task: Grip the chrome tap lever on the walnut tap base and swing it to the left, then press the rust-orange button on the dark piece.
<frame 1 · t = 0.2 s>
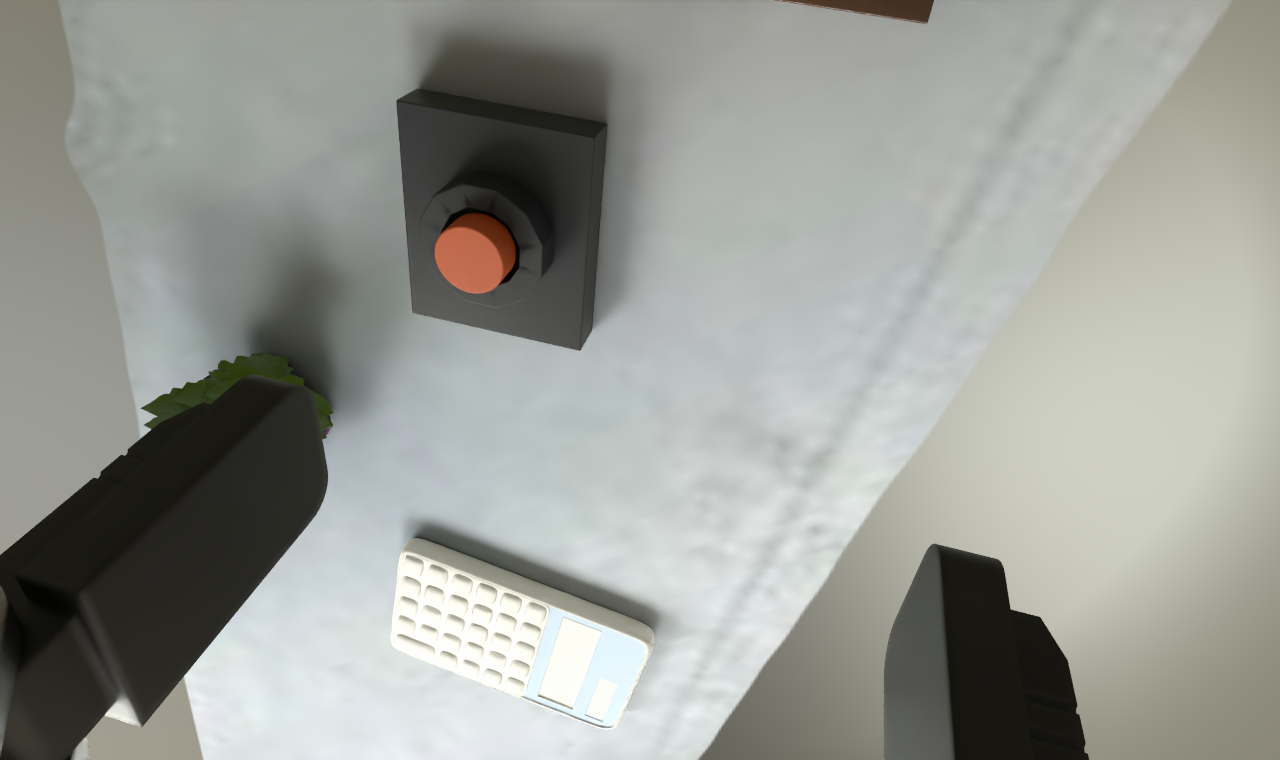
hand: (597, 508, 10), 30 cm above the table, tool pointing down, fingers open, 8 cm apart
dark piece: (510, 217, 43), on the table
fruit: (291, 399, 56), on the table
calculator: (520, 627, 64), on the table
button: (475, 253, 40), point 5 cm above the table, slide at 0.2 cm
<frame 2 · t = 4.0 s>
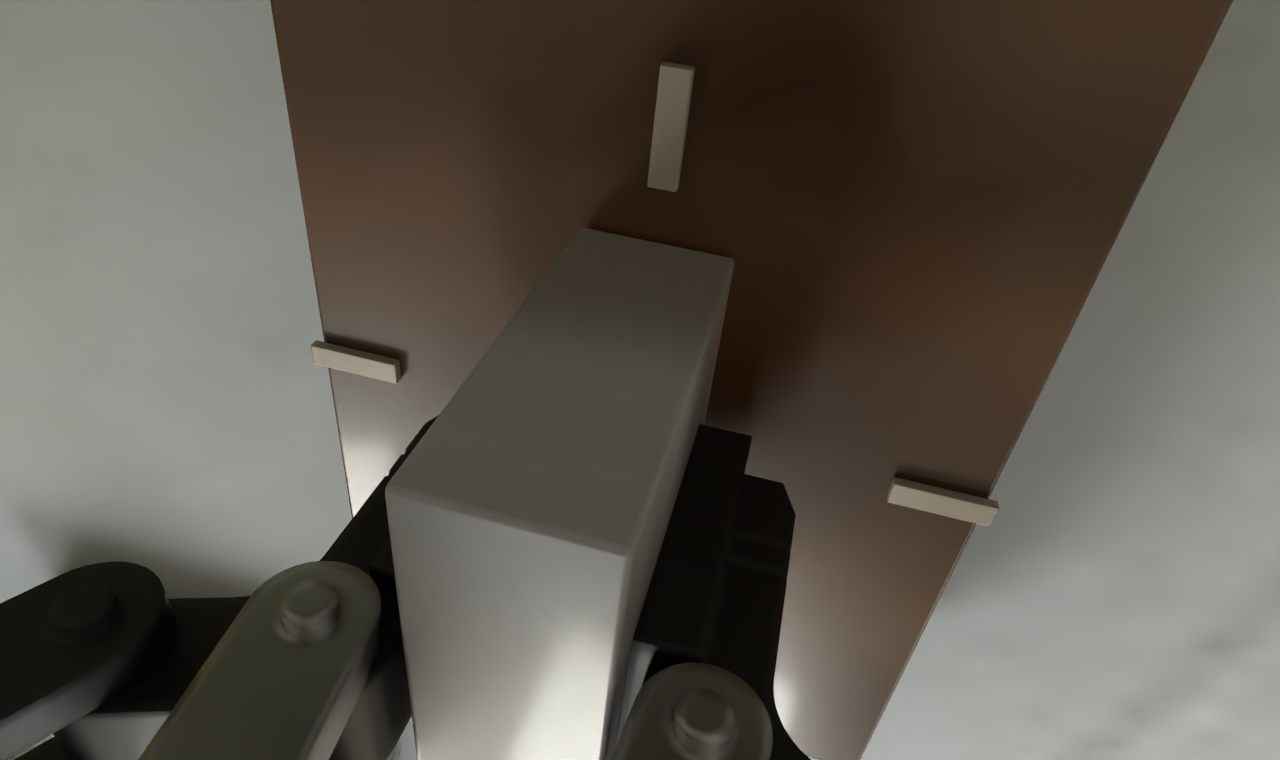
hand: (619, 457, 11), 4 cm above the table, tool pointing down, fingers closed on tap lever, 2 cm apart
tap lever: (579, 558, 10), point 6 cm above the table, hinge at 0.0°, touching gripper
tap base: (677, 322, 14), on the table
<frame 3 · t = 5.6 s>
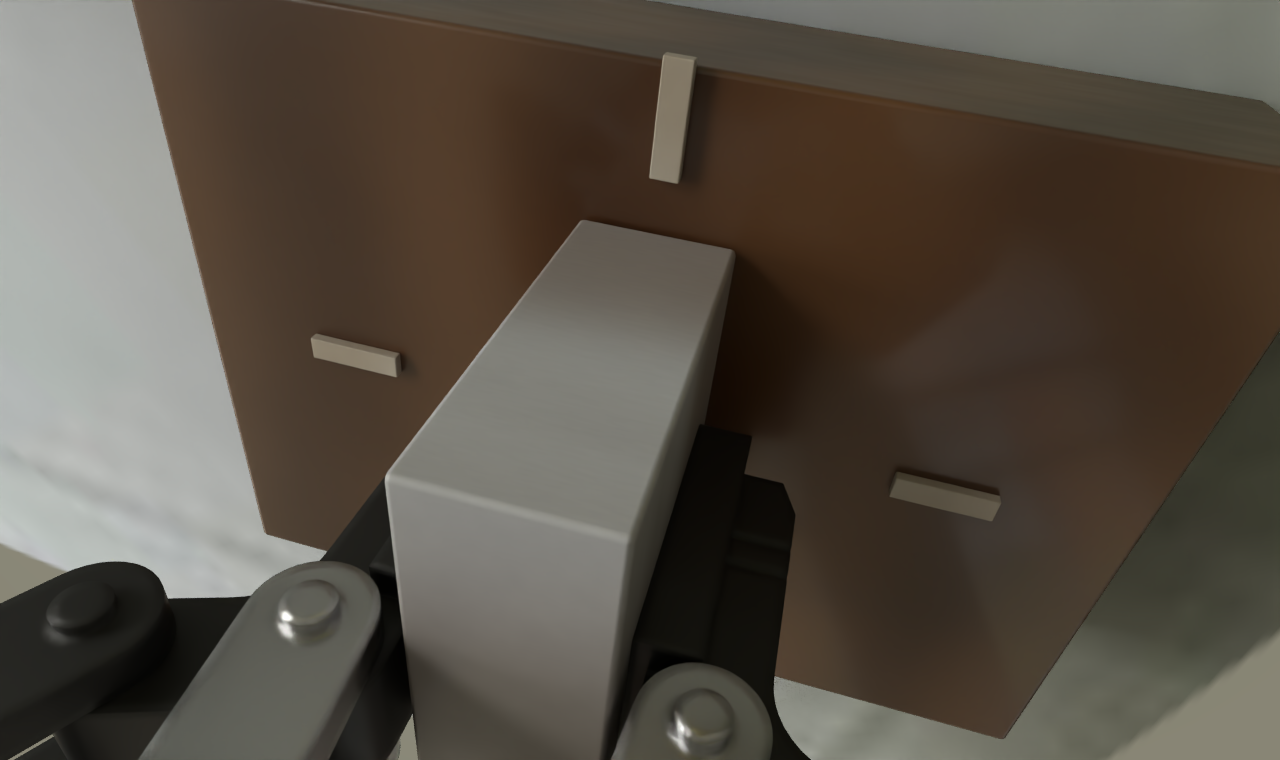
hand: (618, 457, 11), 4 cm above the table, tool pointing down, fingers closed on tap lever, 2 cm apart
tap lever: (580, 551, 10), point 6 cm above the table, hinge at 90.2°, touching gripper
tap base: (678, 317, 14), on the table
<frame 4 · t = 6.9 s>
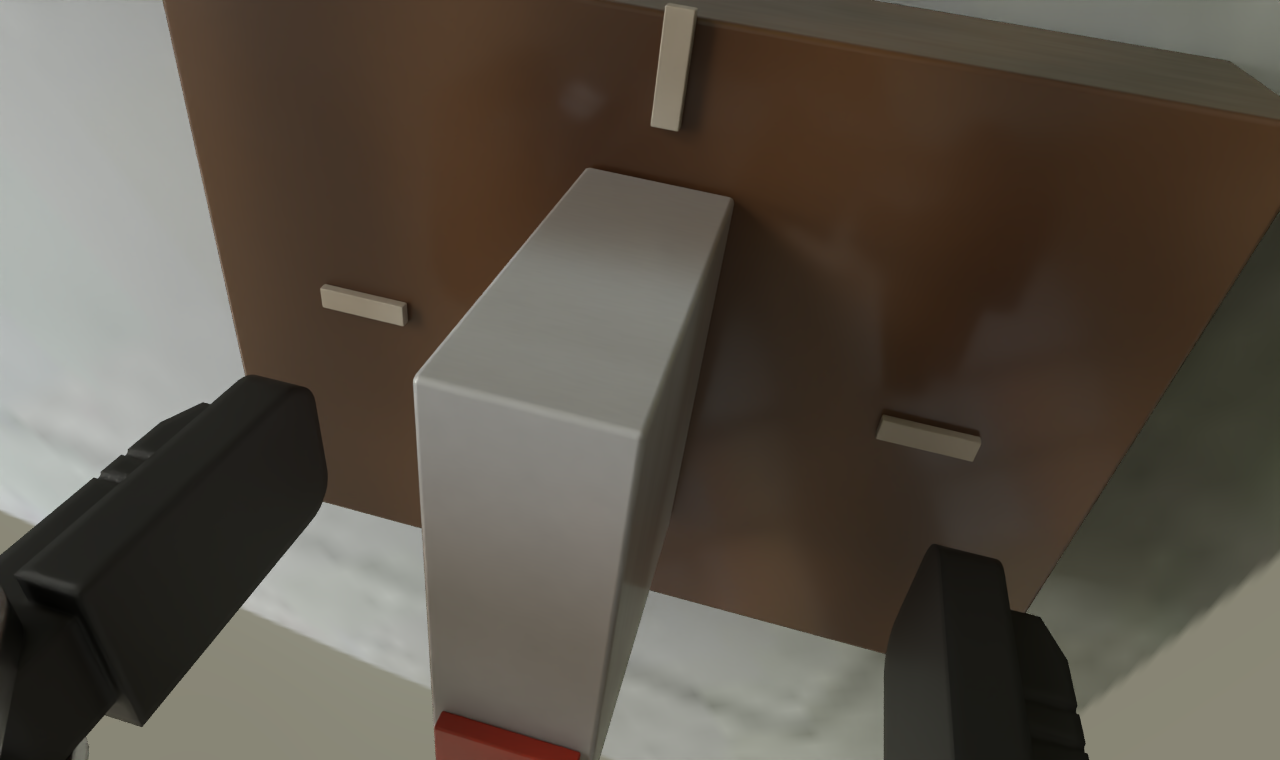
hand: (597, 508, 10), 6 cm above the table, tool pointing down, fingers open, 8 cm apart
tap lever: (583, 481, 10), point 6 cm above the table, hinge at 89.7°
tap base: (674, 275, 15), on the table
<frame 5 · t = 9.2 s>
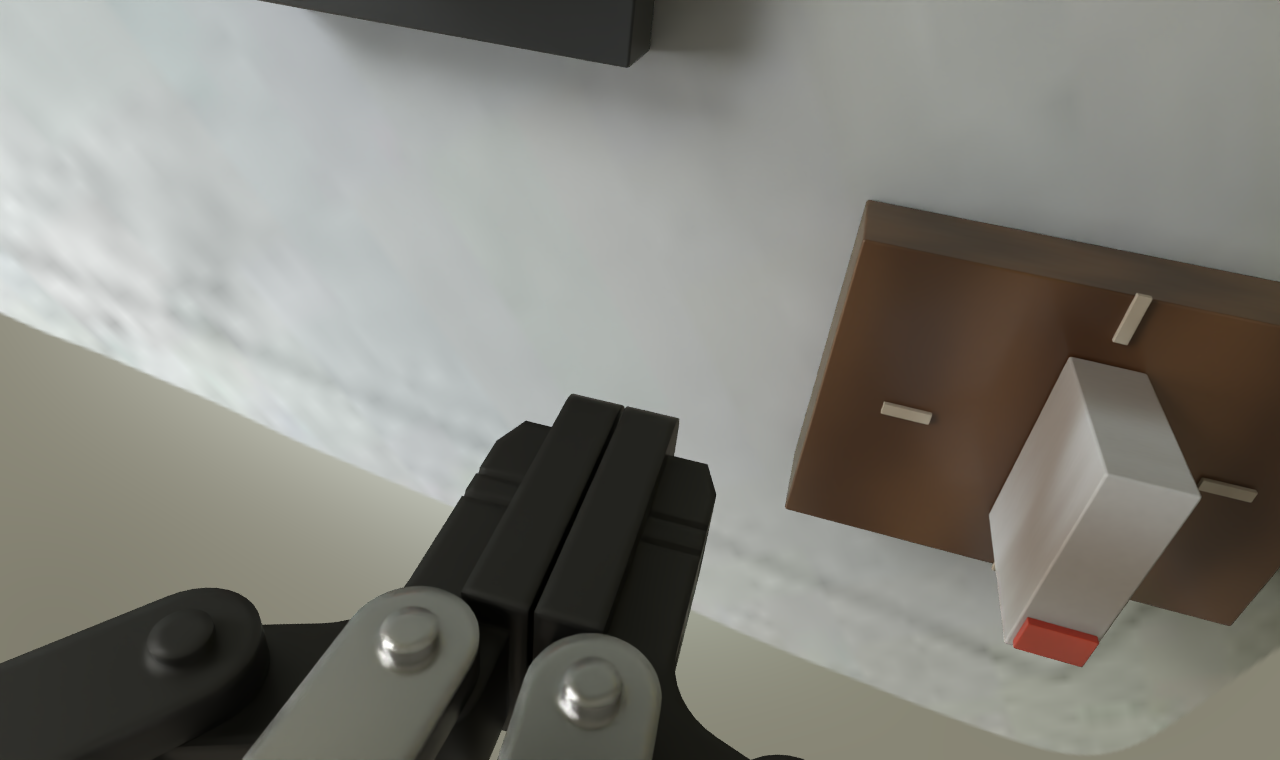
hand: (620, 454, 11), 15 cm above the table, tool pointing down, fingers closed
tap lever: (1076, 510, 21), point 6 cm above the table, hinge at 89.7°
tap base: (1046, 391, 26), on the table
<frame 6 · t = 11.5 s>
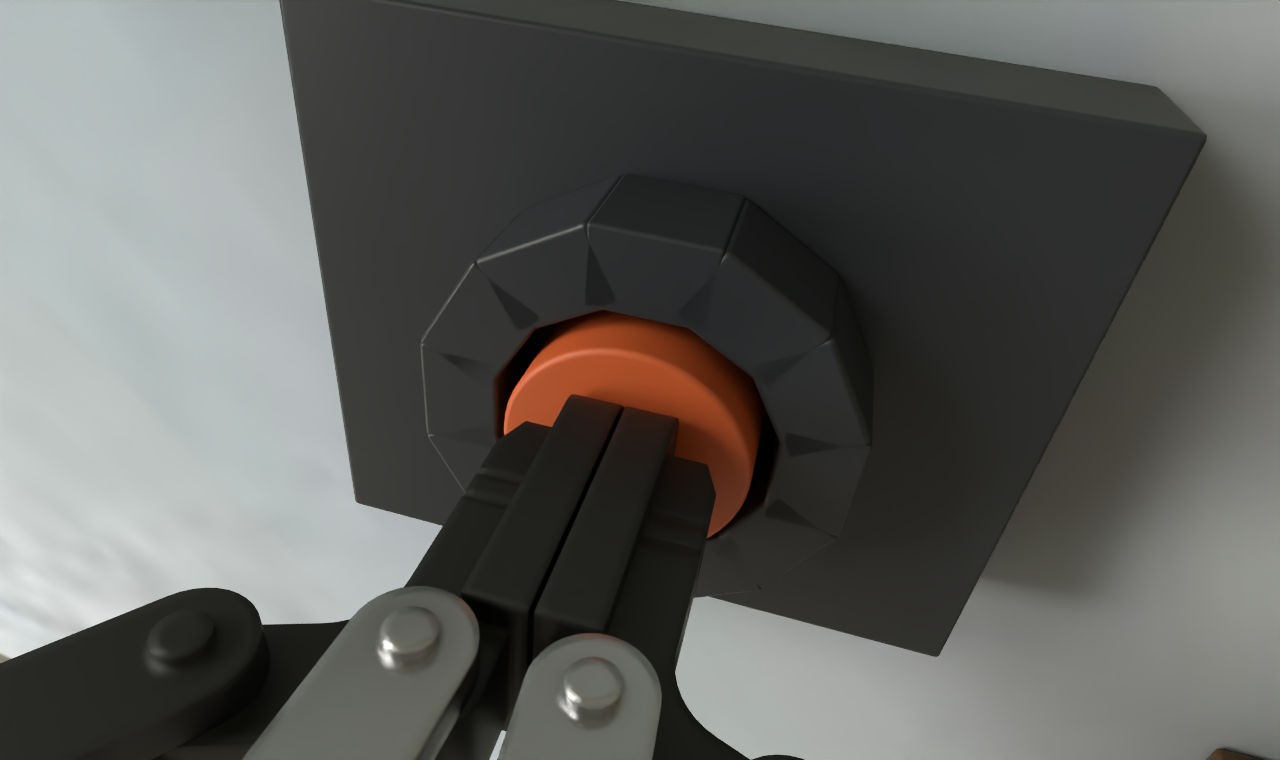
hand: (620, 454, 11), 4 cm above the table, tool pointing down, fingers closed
dark piece: (685, 308, 15), on the table
button: (637, 423, 12), point 4 cm above the table, slide at -0.8 cm, touching gripper
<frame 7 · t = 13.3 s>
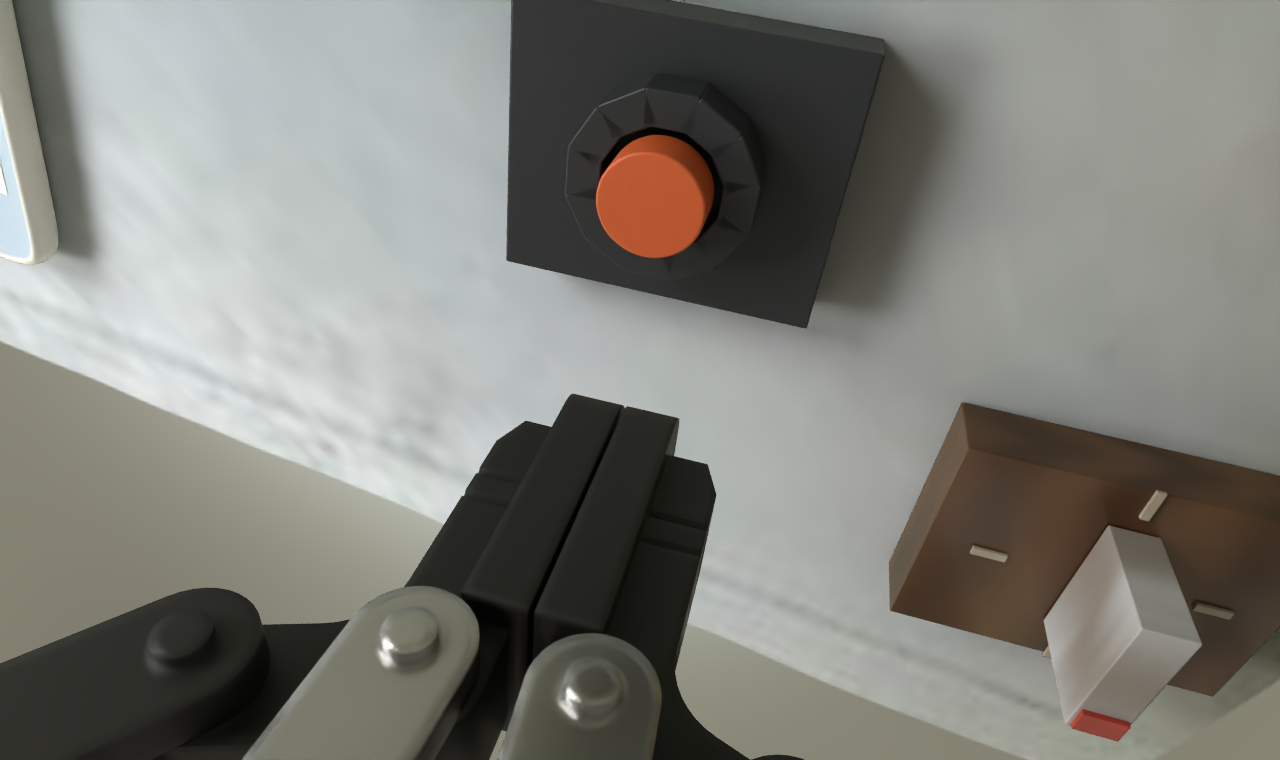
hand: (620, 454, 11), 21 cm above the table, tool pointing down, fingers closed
dark piece: (682, 150, 30), on the table
tap lever: (1113, 633, 31), point 6 cm above the table, hinge at 89.7°
tap base: (1083, 528, 35), on the table
button: (655, 197, 26), point 5 cm above the table, slide at 0.2 cm
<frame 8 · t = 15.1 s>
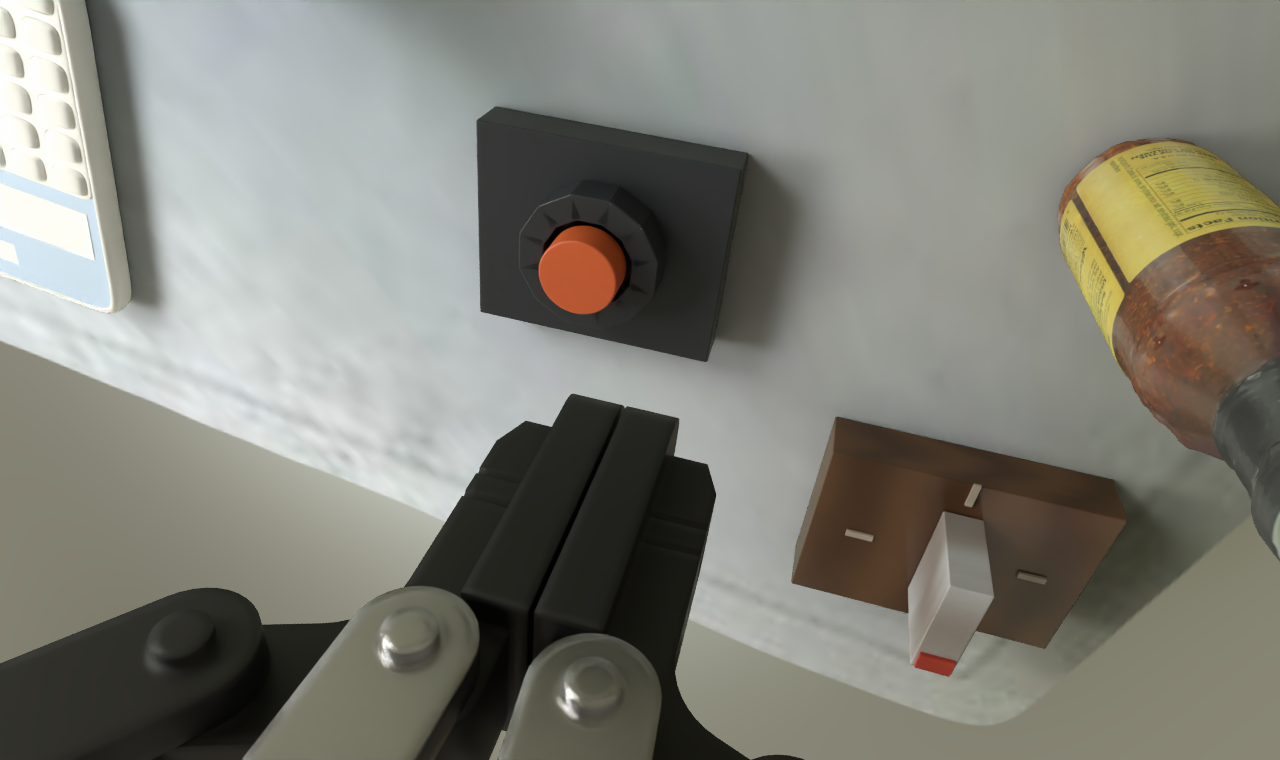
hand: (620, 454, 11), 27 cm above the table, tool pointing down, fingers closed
dark piece: (610, 229, 40), on the table
tap lever: (947, 594, 40), point 6 cm above the table, hinge at 89.7°
sauce bottle: (1137, 198, 33), on the table
tap base: (941, 515, 44), on the table
calculator: (11, 122, 45), on the table
button: (582, 270, 36), point 5 cm above the table, slide at 0.2 cm
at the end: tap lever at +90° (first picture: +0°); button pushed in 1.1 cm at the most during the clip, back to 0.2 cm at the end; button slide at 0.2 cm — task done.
